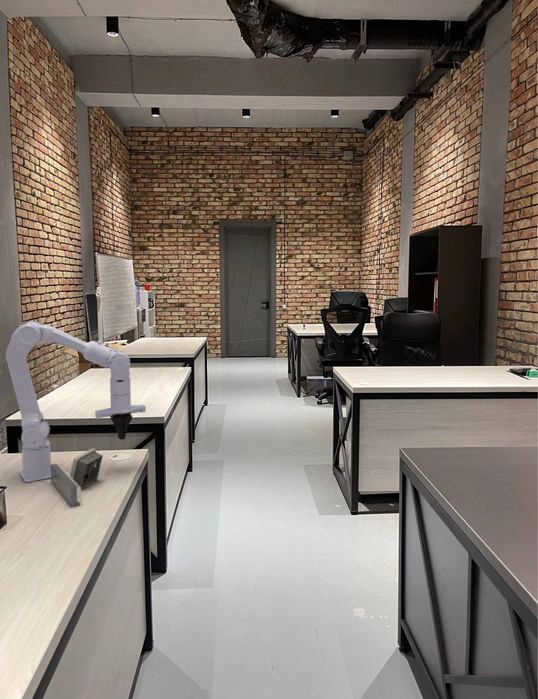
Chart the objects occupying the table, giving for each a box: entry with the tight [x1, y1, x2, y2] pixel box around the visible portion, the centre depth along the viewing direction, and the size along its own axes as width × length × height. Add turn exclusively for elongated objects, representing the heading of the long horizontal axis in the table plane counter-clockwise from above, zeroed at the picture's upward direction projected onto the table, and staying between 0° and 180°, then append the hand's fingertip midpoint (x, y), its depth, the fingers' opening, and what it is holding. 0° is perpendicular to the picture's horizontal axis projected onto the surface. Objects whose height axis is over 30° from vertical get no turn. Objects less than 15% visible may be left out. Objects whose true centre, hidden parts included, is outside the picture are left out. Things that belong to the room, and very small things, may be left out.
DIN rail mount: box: [50, 463, 82, 508], centre depth 140 cm, size 20×2×5 cm, turn 35°
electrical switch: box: [69, 447, 103, 490], centre depth 146 cm, size 9×5×9 cm, turn 166°
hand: (121, 438), depth 158 cm, fingers closed
